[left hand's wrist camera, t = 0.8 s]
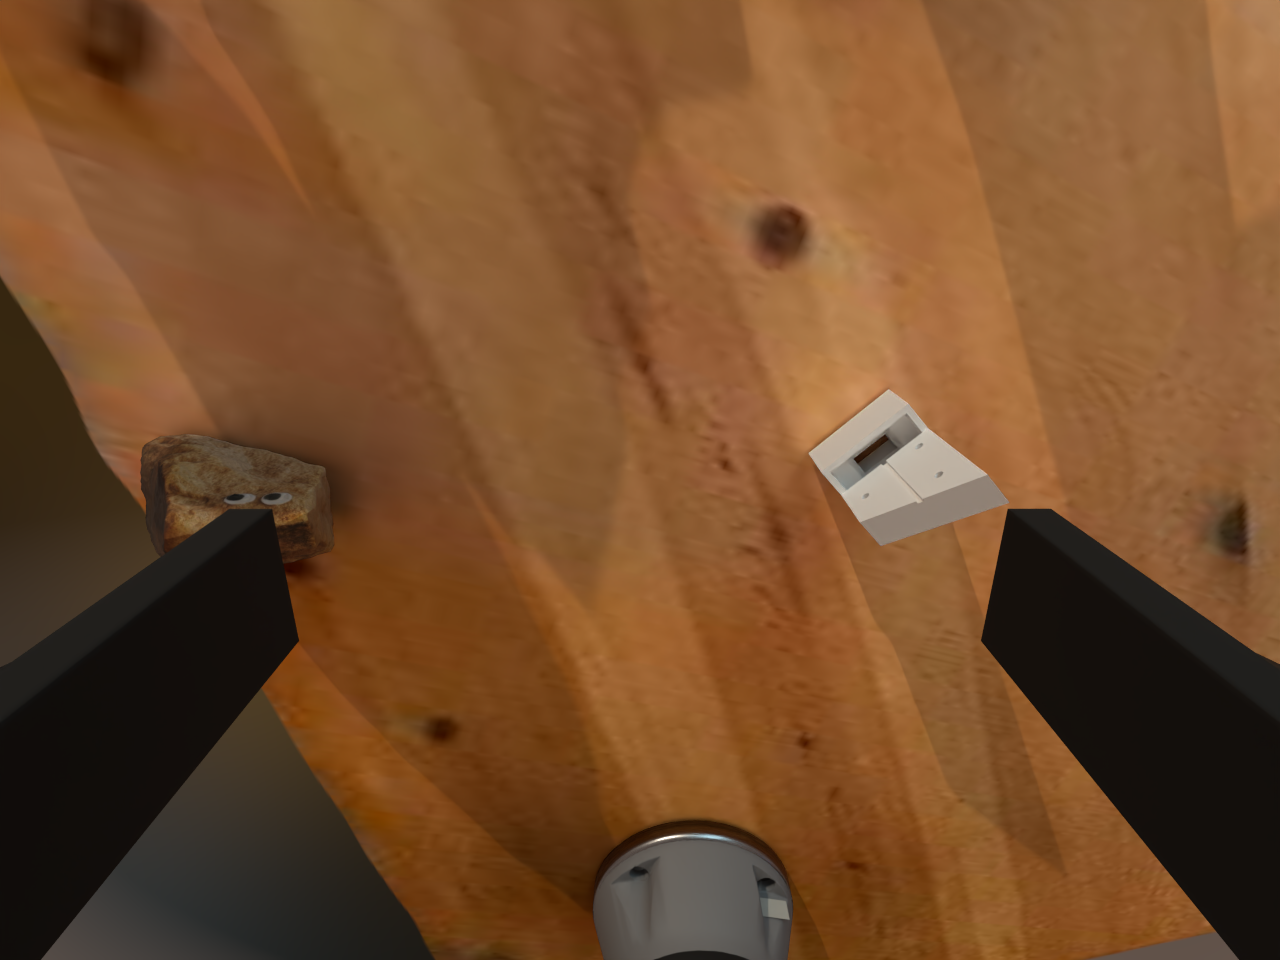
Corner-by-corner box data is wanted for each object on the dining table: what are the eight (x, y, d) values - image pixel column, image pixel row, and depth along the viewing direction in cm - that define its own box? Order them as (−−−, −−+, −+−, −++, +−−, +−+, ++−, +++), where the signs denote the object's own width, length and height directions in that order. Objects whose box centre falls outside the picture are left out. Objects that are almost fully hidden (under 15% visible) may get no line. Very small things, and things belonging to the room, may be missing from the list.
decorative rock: (371, 447, 41) (283, 526, 31) (367, 538, 43) (284, 638, 33) (163, 412, 40) (3, 481, 30) (170, 506, 42) (23, 599, 32)
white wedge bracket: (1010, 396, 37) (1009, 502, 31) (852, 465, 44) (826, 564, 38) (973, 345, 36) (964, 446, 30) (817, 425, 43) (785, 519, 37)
